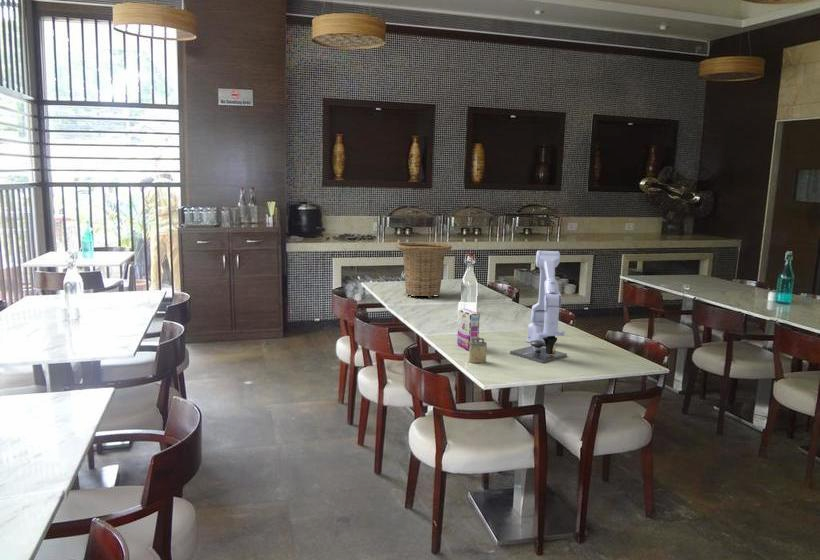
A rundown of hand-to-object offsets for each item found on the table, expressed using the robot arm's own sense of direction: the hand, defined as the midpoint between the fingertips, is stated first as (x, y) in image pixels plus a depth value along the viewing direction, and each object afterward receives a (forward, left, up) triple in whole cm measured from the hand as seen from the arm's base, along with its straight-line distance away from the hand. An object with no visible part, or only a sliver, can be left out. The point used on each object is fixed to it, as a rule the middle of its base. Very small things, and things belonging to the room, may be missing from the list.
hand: (549, 353), depth 259 cm
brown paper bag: (-14, -28, -2) cm, 32 cm away
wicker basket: (-137, +53, -2) cm, 147 cm away
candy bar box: (-32, -15, -2) cm, 36 cm away
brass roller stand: (-4, +2, 0) cm, 5 cm away
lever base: (-6, +1, -2) cm, 6 cm away
